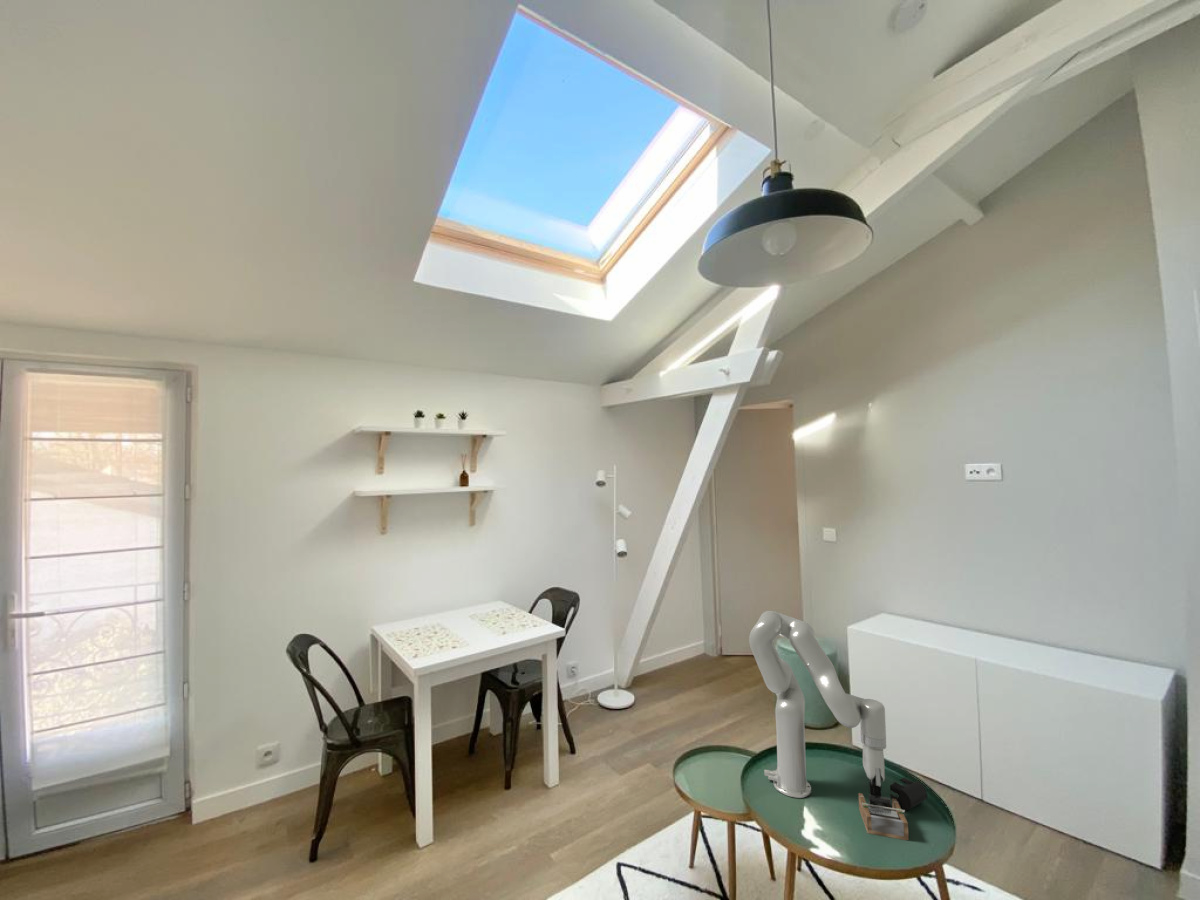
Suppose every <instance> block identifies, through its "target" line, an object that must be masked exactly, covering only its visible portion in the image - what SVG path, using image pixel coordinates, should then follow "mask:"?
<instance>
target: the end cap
mask: <svg viewBox="0 0 1200 900" xmlns="http://www.w3.org/2000/svg"><path fill="white" fill-rule="evenodd" d="M899 781H900V782H901V783H903V784H905V785H902V784H899V782H896V781H895V782H894V781H893V782H892V783H890V785H889V791H891V792H893V793H894V794H896V795H894V794H892V793H890V794H889V795H890V796H889V798H890V800H891V804H892V798H893V799H897V802H898V804H899V806H900V808H901V809H902V810H905V812H906V811H908V810H911V809H912V808H914V807H916V806H917V805H919V804H922V803H923V802H924V801H927V798H928V792H927V789H926V787H925V786H924V784H922V783H921V782H920V781H918V780H916V781H913V780H911V779H908V778H906V777H902V778H899ZM897 795H898V796H897Z"/></svg>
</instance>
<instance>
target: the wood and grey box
mask: <svg viewBox="0 0 1200 900" xmlns="http://www.w3.org/2000/svg"><path fill="white" fill-rule="evenodd" d="M891 801H892V803H891V807H892V808H895V809H901V808H900V806H899V804H898V802H897V799H893V798H892V799H891ZM862 803H865V804H867V802H866V799H865V796H864V794H863V793H861V792H858V809H859V813H860V815H861V818H862V821H863V824H864V827H865V830H866V832H867V834H870V835H875V836H881V837H886V838H892V839H898V840H904V841H909V840H910V839H909V822H908V821H907V818H906V816H905V814H904V812H900V811H895V812H897V814H898V817H899V820H897V819H891V818H886V817H880V816H874V815H870V812H869V810H868V807H869V806H864V805H862ZM901 810H902V809H901ZM892 811H894V810H892Z"/></svg>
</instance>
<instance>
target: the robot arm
mask: <svg viewBox="0 0 1200 900" xmlns="http://www.w3.org/2000/svg"><path fill="white" fill-rule="evenodd" d="M778 637H782V638H785V639H787V640H789V643H790V645H791V647H792V649H793V650H794V651H795V653H796V654H797V656H798V657H799V659H800V661H801V662H802V664H803V665H804V667H805V669H806V670H807V671H808V673H809V674H810V676H811V678H812V681H814V684H815V685H816V688H817V689H818V691H819V693H820V695H821V697H822V698H823V701H824V702H825V704H826V705H827V707H828V708H829V710H830V711H831V713H832V715H833V716H834V717H835V719H836V720H837V722H838V723H839V724H841V725H842V726H843V727H845V728H848V729H853V728H856V727H857V726H859V725H860V742H861V744H862V767H863V768H864V772H865V775H866V777H867V779H868V780H869V782H868V784H869V785H868V786H869V790H868V791H869V795H874V796H881V797H882V786H881V785H882V782H884V781H885V780H886V779H885V778H886V771H885V770H886V769H885V754H884V750H885V749H887V730H886V728H887V727H886V707H885V705H884V704H883V703H882V702H880V701H878V700H876V699H871V698H863V697H859V696H856V695H854V694H850V693H846V692H845V690H844V688H843V686H842V684H841V682H840V679H839V677H838V674H837V671H836V668H835V666H834V664H833V662H832V661H831V659H830V658H829V656H828V655H827V654H826V652H825V651H824V649H823V648H822V646H821V645H820V643H819V641H818V640H817V639H816V637H815V631H814V629H813V627H812V626H811V625H810V624H809V623H807V622H806V621H803V620H800V619H798V618H796V617H795V618H794V617H792V616H789V615H786V614H784V613H780V612H778V611H775V610H766V611H764V612H762V613H761V615H760V616H759V618H758V620H757V622H756V623H755V624H754V626H753V628H751V631H750V633H749V636H748V644H749V646H750V650H751V652H752V655H753V656H754V660H755V662H756V664H757V667H758V670H759V671H760V673H761V676H762V679H763V682H764V684H765V686H766V687H767V689H768V690H769V691H770V692H772V693H773V694H775V695H776V697H777V699H776V704H775V708H774V710H775V712H774V713H775V714H774V716H775V727H776V729H775V730H776V756H777V757H776V759H777V760H776V762H777V763H776V765H777V767H775V768H776V769H774V770H770V769H763V770H764V771H763V772H764V776H765V777H767V779H768V780H771V781H772V782H773V783H772V784H773V786H774V788H775V789H776V790H777V791H778V792H780V793H781V794H783V795H785V796H787V797H791V798H796V799H797V798H798V799H799V798H800V799H801V798H802V799H803V798H805V797H808V796H810V795H811V793H812V786H811V784H810V782H808V780H807V769H806V768H807V767H806V766H807V765H806V763H807V762H806V761H807V760H806V732H805V731H806V730H805V729H806V728H805V710H806V707H805V706H806V699H805V696H804V693H803V691H802V689H801V686H800V684H799V682H798V680H797V678H796V676H795V674H794V672H793V668H791V665H789V663H788V662H787V661H786V660H784V659H782V658H780V656H779V653H778V651H777V649H776V647H775V645H774V642H775V640H777V638H778Z"/></svg>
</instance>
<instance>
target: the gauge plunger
mask: <svg viewBox="0 0 1200 900" xmlns="http://www.w3.org/2000/svg"><path fill="white" fill-rule="evenodd" d="M891 801H892V799H891V798H890V797H886V796H882V795H881V796H874V795H870V794H868V803H866V804H865V803H862V805H864V806H868V810H869V812H870V815H874V816H880V817H886V818H891V819H897V820H899V817H898V814H897V812H895V811H900V812H903V813H905V812H906V811H905V810H901V809H895V808H893V807H892V803H891ZM893 810H894V811H893Z"/></svg>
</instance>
